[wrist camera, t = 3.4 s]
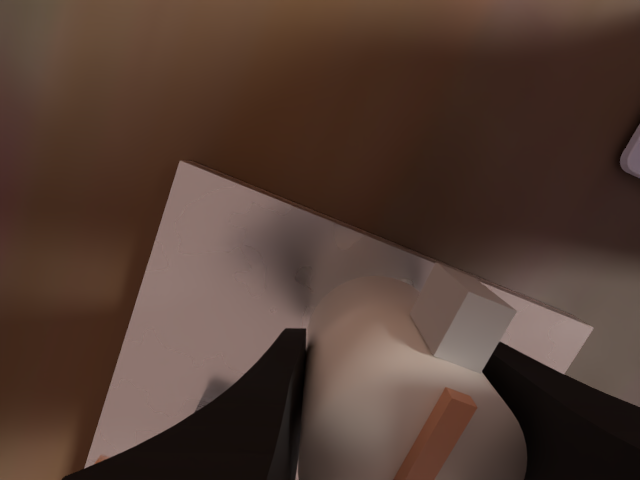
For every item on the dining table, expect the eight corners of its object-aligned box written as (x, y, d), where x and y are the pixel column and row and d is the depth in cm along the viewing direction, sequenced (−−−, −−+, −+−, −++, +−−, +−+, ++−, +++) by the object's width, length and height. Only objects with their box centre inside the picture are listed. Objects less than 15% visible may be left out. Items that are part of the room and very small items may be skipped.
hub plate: (574, 315, 14) (629, 349, 11) (385, 617, 18) (396, 691, 15) (190, 160, 12) (159, 160, 10) (74, 527, 16) (30, 592, 14)
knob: (403, 412, 12) (466, 598, 7) (287, 370, 12) (262, 535, 7) (483, 266, 11) (629, 365, 6) (355, 214, 11) (390, 270, 5)
